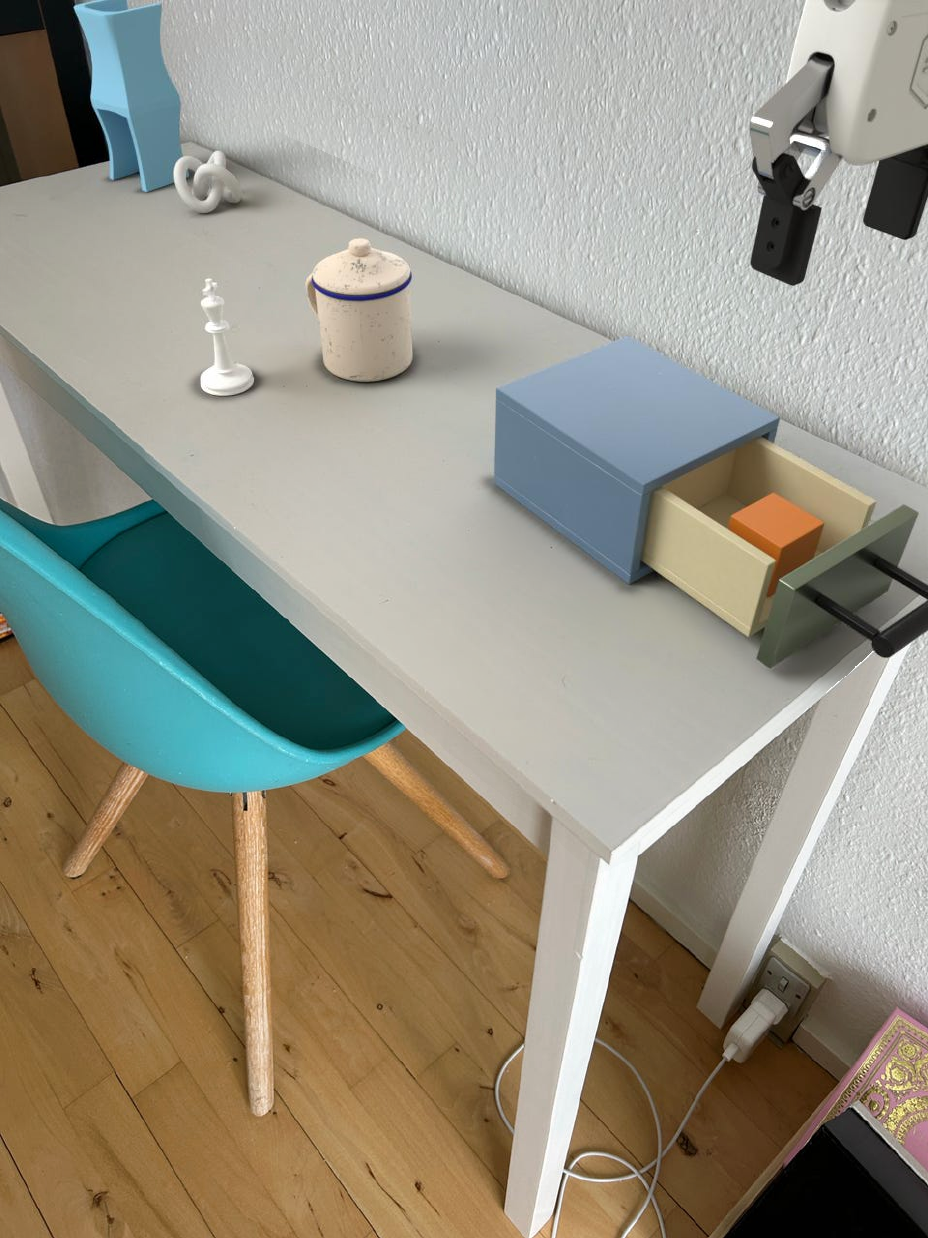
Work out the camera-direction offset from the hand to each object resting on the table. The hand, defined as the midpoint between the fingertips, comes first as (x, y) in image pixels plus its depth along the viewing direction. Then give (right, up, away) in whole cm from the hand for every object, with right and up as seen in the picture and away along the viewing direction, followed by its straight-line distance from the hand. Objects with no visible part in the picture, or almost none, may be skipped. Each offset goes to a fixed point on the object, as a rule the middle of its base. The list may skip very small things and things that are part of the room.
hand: (833, 252), depth 54 cm
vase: (-63, +39, +78) cm, 107 cm away
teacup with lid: (-31, +5, +41) cm, 52 cm away
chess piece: (-43, +2, +38) cm, 57 cm away
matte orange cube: (+1, -17, +15) cm, 22 cm away
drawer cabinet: (-8, -11, +24) cm, 28 cm away
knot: (-52, +32, +70) cm, 93 cm away
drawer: (+2, -19, +14) cm, 24 cm away
